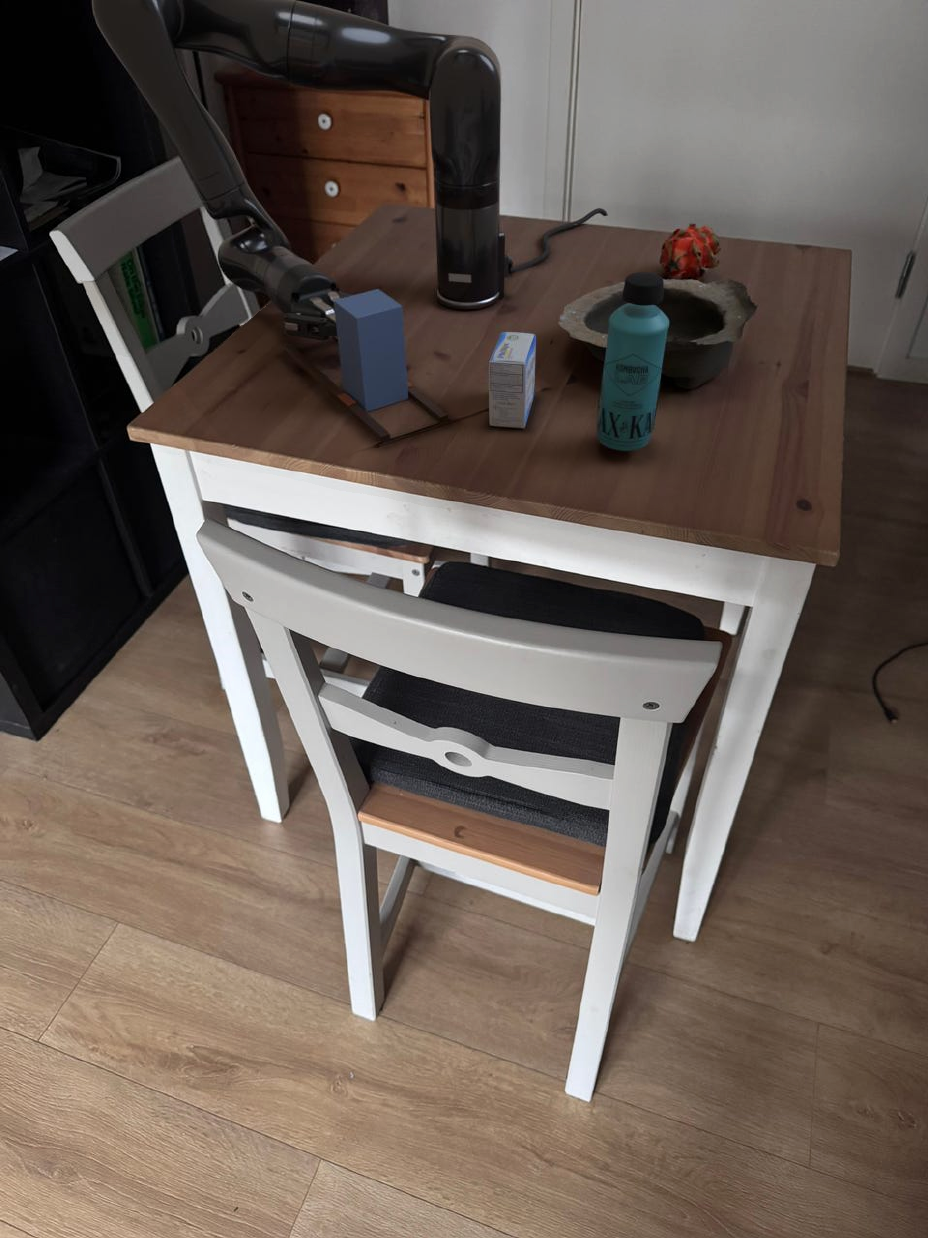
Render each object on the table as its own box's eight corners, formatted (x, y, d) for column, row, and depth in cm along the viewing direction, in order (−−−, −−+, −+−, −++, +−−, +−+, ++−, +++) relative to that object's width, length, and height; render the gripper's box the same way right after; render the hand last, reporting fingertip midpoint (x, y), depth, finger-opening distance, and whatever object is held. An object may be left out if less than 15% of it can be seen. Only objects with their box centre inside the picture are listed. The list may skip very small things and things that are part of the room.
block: (385, 380, 116) (378, 288, 108) (408, 399, 112) (402, 305, 104) (343, 392, 113) (333, 300, 105) (365, 412, 110) (356, 318, 102)
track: (347, 338, 126) (346, 328, 125) (451, 422, 109) (451, 412, 108) (282, 356, 123) (280, 346, 122) (379, 447, 105) (378, 436, 104)
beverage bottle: (589, 435, 106) (604, 265, 93) (644, 432, 106) (668, 262, 93) (600, 465, 101) (618, 291, 88) (657, 461, 102) (684, 288, 88)
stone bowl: (775, 398, 111) (786, 328, 105) (575, 422, 111) (574, 353, 105) (719, 312, 129) (726, 247, 123) (547, 332, 129) (545, 269, 123)
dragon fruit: (709, 276, 145) (669, 311, 139) (674, 236, 144) (632, 269, 139) (743, 242, 137) (702, 277, 132) (706, 199, 137) (663, 233, 131)
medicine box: (524, 430, 107) (527, 362, 101) (488, 426, 108) (488, 359, 102) (534, 398, 113) (537, 332, 107) (499, 395, 114) (500, 329, 108)
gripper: (250, 274, 116) (307, 322, 105) (342, 253, 121) (405, 296, 110) (260, 329, 121) (315, 380, 110) (347, 307, 126) (408, 353, 115)
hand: (360, 338), depth 110 cm, fingers closed
